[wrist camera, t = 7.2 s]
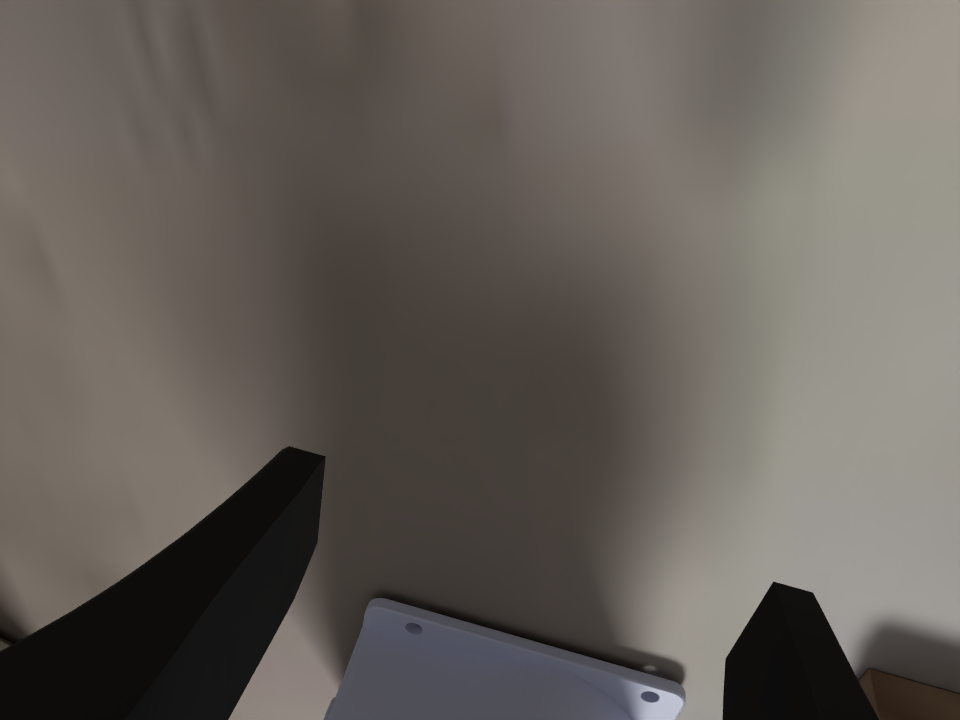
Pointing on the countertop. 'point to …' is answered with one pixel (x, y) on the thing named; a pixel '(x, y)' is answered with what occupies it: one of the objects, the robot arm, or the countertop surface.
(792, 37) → the countertop surface
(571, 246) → the countertop surface
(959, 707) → the bar
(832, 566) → the countertop surface
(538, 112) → the countertop surface
